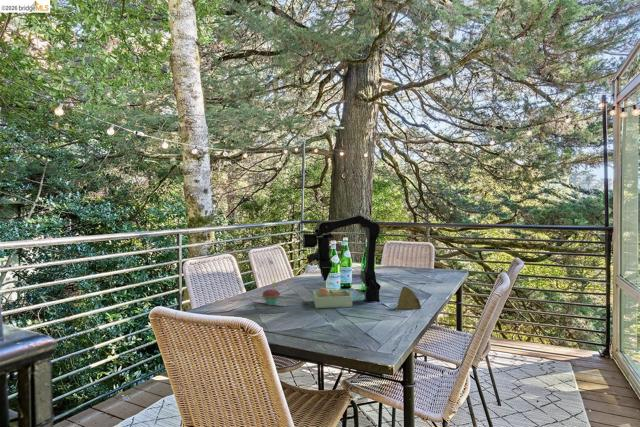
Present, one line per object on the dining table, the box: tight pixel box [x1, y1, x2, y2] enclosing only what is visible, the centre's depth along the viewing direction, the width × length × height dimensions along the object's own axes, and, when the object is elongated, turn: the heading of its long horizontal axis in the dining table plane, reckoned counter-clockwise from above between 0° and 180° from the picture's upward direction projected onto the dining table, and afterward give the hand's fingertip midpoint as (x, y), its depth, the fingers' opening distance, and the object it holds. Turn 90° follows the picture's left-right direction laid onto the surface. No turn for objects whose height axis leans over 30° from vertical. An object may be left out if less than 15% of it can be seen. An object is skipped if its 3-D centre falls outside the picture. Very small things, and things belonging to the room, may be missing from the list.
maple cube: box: [332, 291, 344, 297], centre depth 201 cm, size 5×5×5 cm
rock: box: [396, 286, 422, 310], centre depth 191 cm, size 11×9×10 cm
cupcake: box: [261, 280, 281, 306], centre depth 201 cm, size 9×8×12 cm
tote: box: [312, 289, 353, 309], centre depth 200 cm, size 18×14×5 cm
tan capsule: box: [318, 287, 330, 297], centre depth 200 cm, size 5×5×7 cm
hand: (323, 278), depth 200 cm, fingers open, 9 cm apart
